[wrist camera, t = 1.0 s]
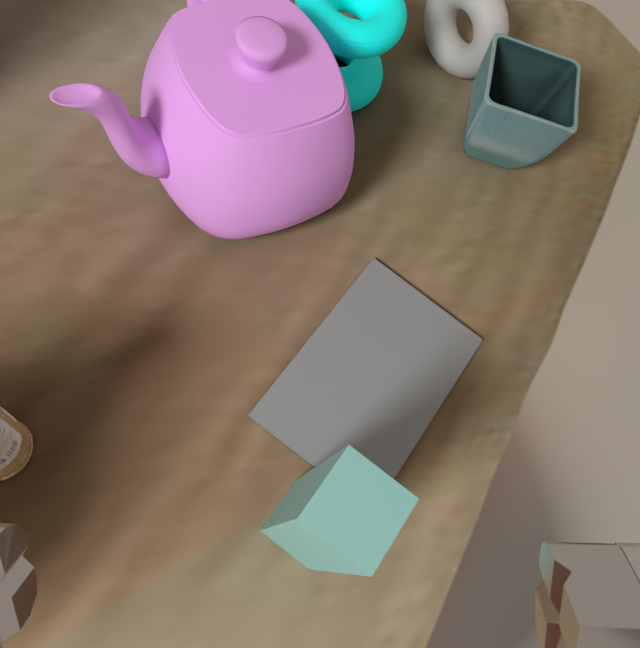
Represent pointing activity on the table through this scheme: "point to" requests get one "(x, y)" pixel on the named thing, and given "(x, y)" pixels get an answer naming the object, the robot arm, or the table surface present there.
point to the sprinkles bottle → (13, 445)
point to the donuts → (358, 39)
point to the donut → (448, 46)
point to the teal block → (341, 515)
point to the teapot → (236, 117)
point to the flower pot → (521, 103)
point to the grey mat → (369, 374)
